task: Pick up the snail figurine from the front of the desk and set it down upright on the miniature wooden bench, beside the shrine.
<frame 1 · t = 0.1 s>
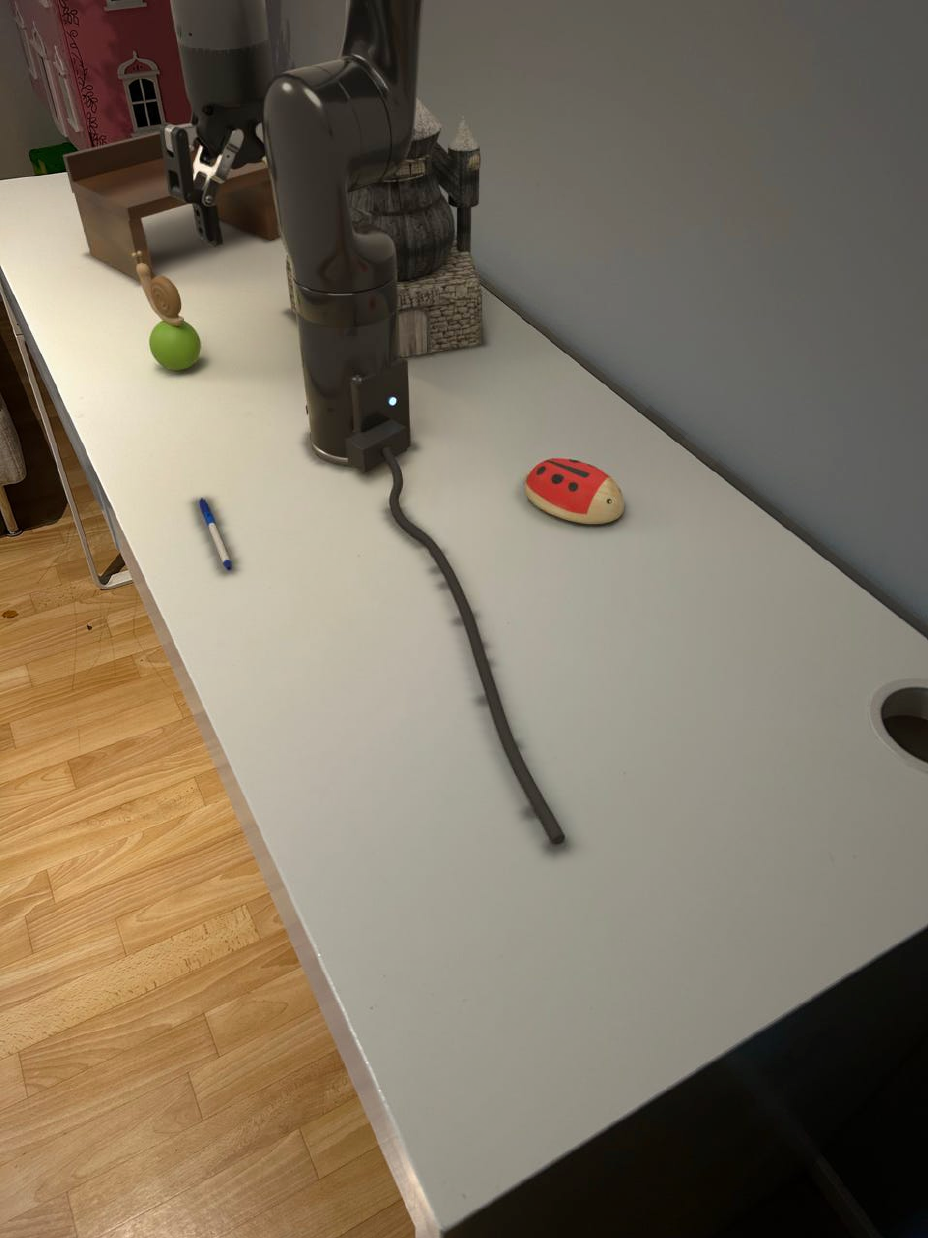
hand: (251, 231, 88), 17 cm above the table, tool pointing down, fingers open, 8 cm apart
ballpoint pen: (216, 538, 83), on the table
miniature wooden bench: (186, 245, 129), on the table
miniature castle: (395, 326, 112), on the table
snail figurine: (177, 367, 105), on the table
ladybug figurine: (572, 505, 86), on the table
shrine: (252, 189, 146), on the table
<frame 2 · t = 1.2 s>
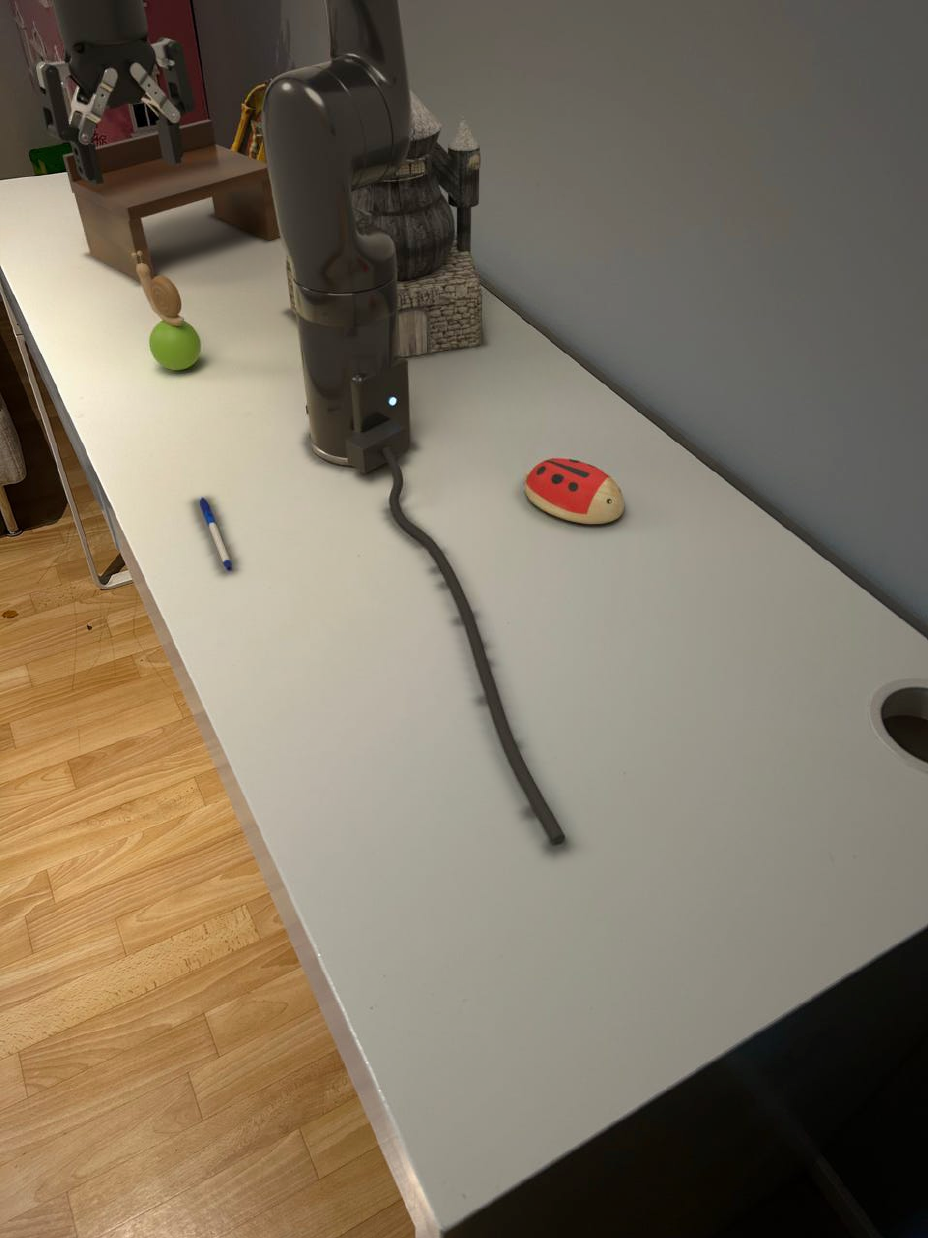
hand: (135, 173, 91), 20 cm above the table, tool pointing down, fingers open, 8 cm apart
nothing on the table moved.
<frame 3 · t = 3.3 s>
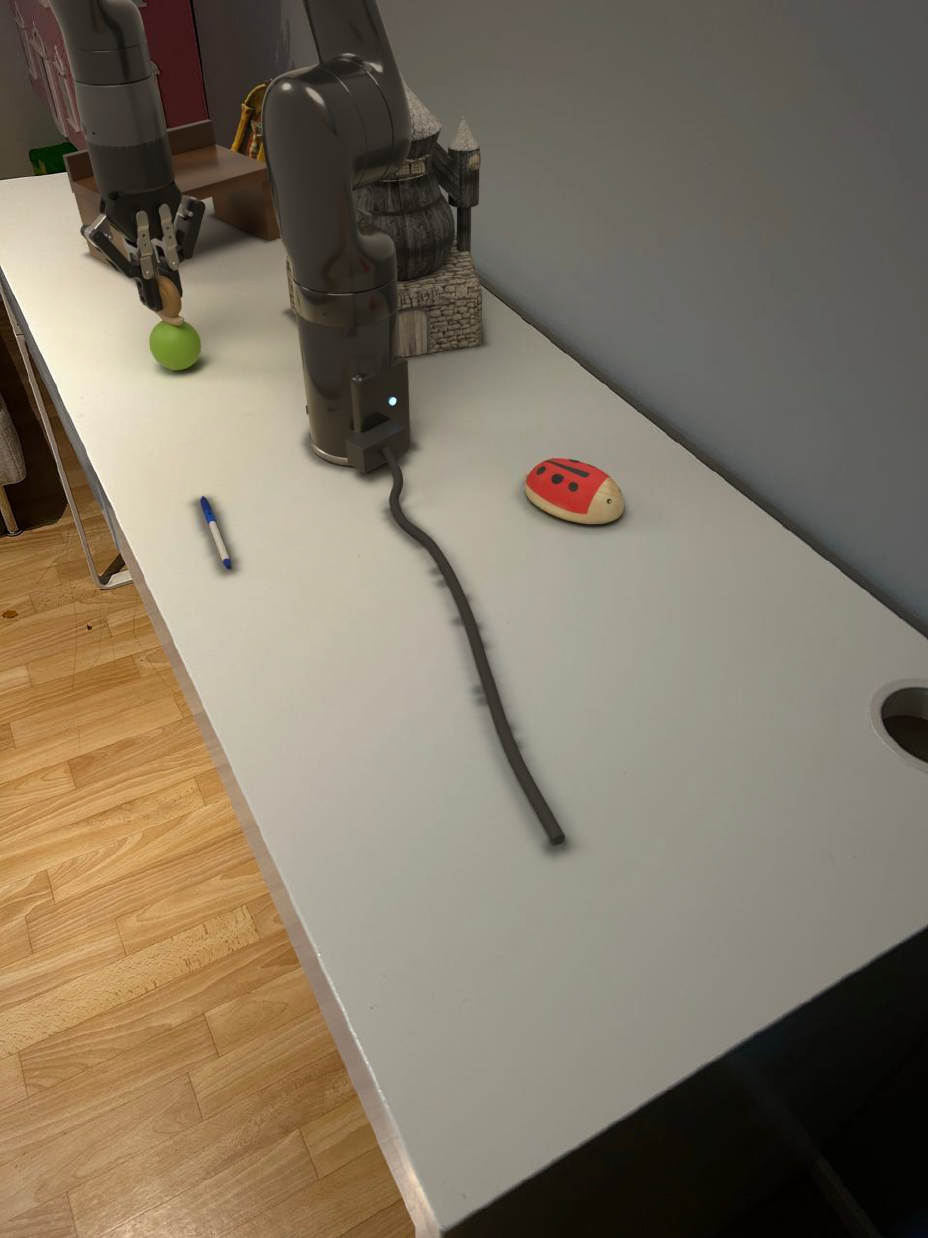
hand: (164, 305, 100), 7 cm above the table, tool pointing down, fingers closed on snail figurine
snail figurine: (177, 367, 105), on the table, touching gripper
everything else where it was.
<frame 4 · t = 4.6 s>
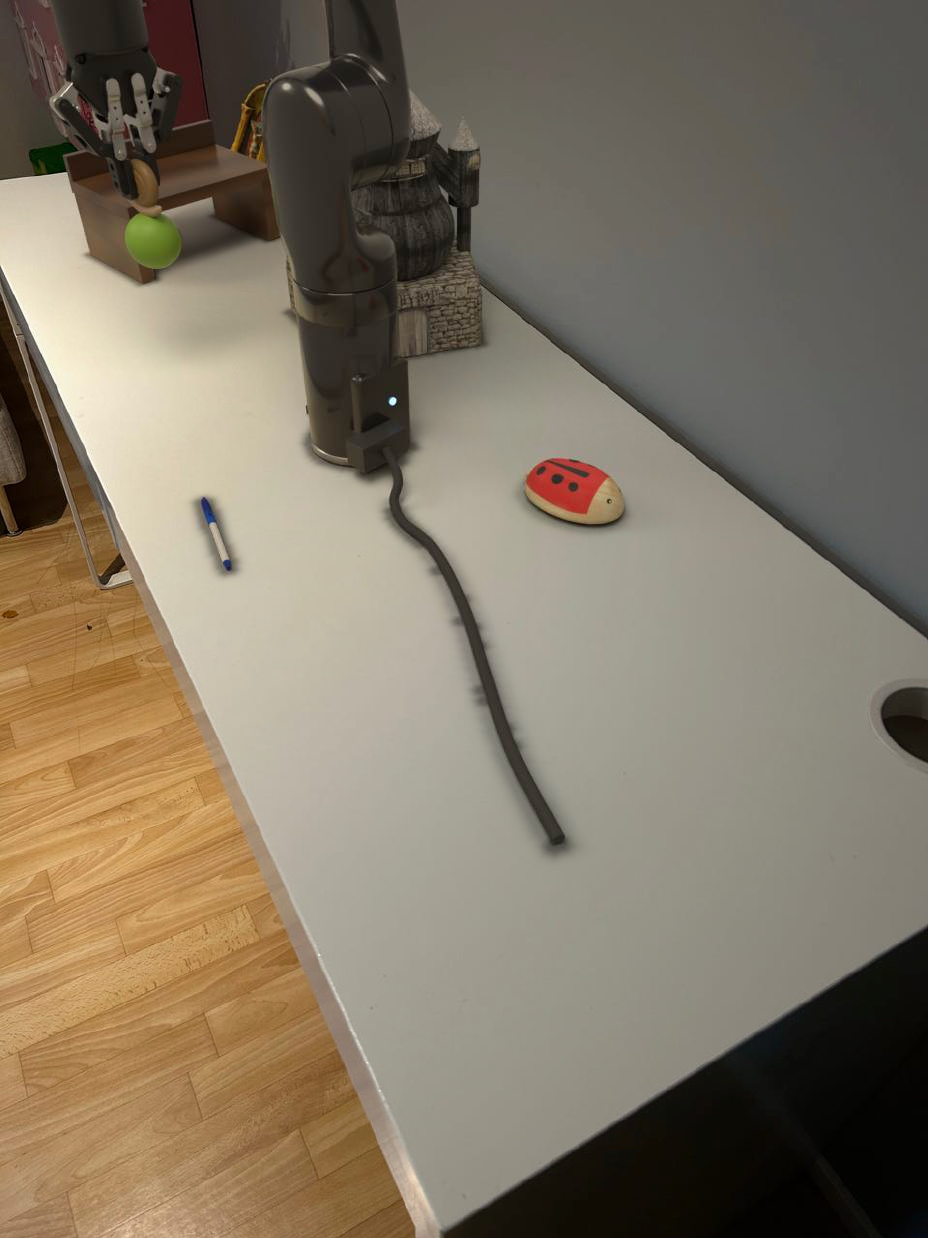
hand: (140, 194, 92), 18 cm above the table, tool pointing down, fingers closed on snail figurine
snail figurine: (156, 267, 97), point 11 cm above the table, touching gripper
everything else where it was.
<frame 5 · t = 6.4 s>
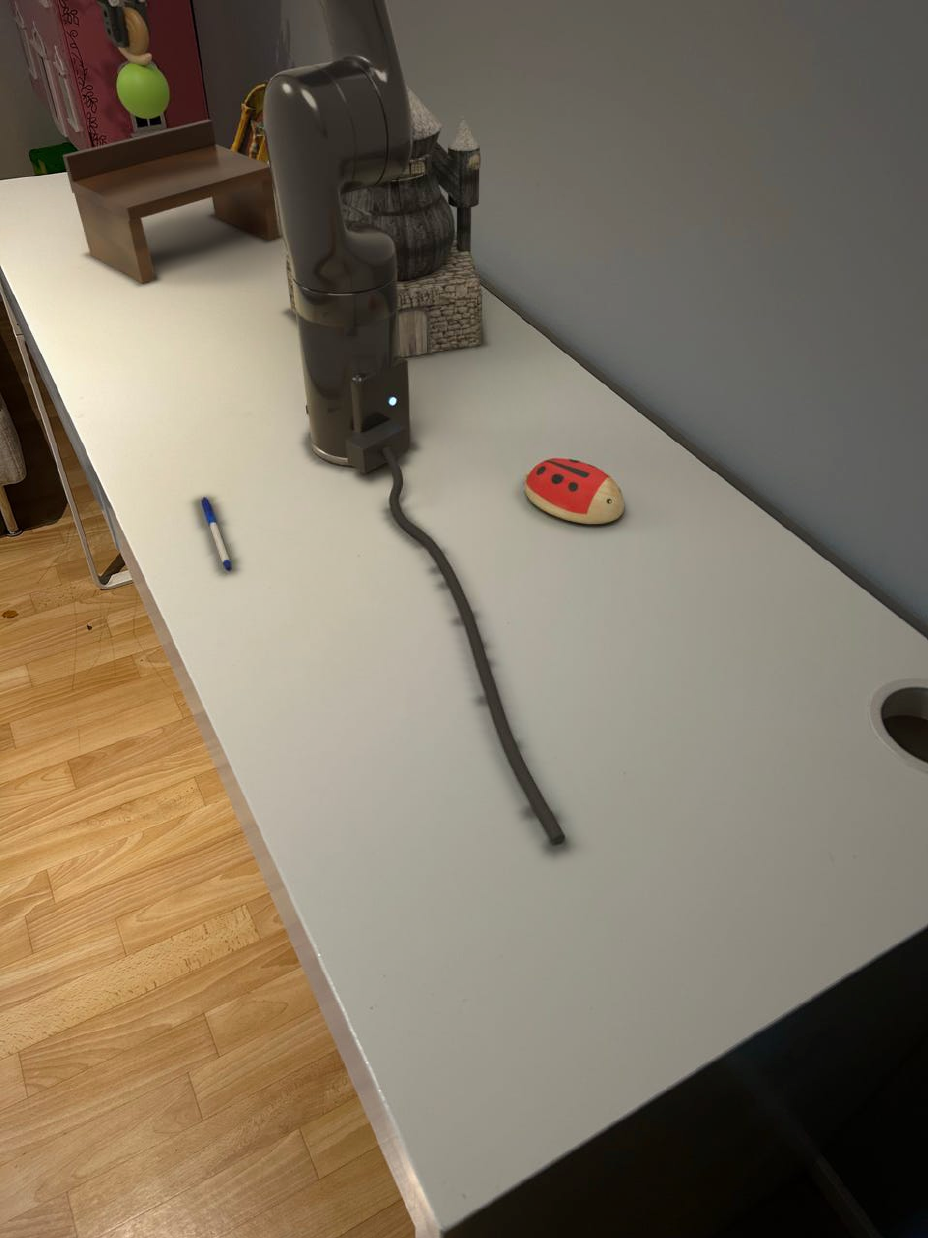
hand: (131, 43, 98), 28 cm above the table, tool pointing down, fingers closed on snail figurine
snail figurine: (146, 118, 103), point 20 cm above the table, touching gripper
everything else where it was.
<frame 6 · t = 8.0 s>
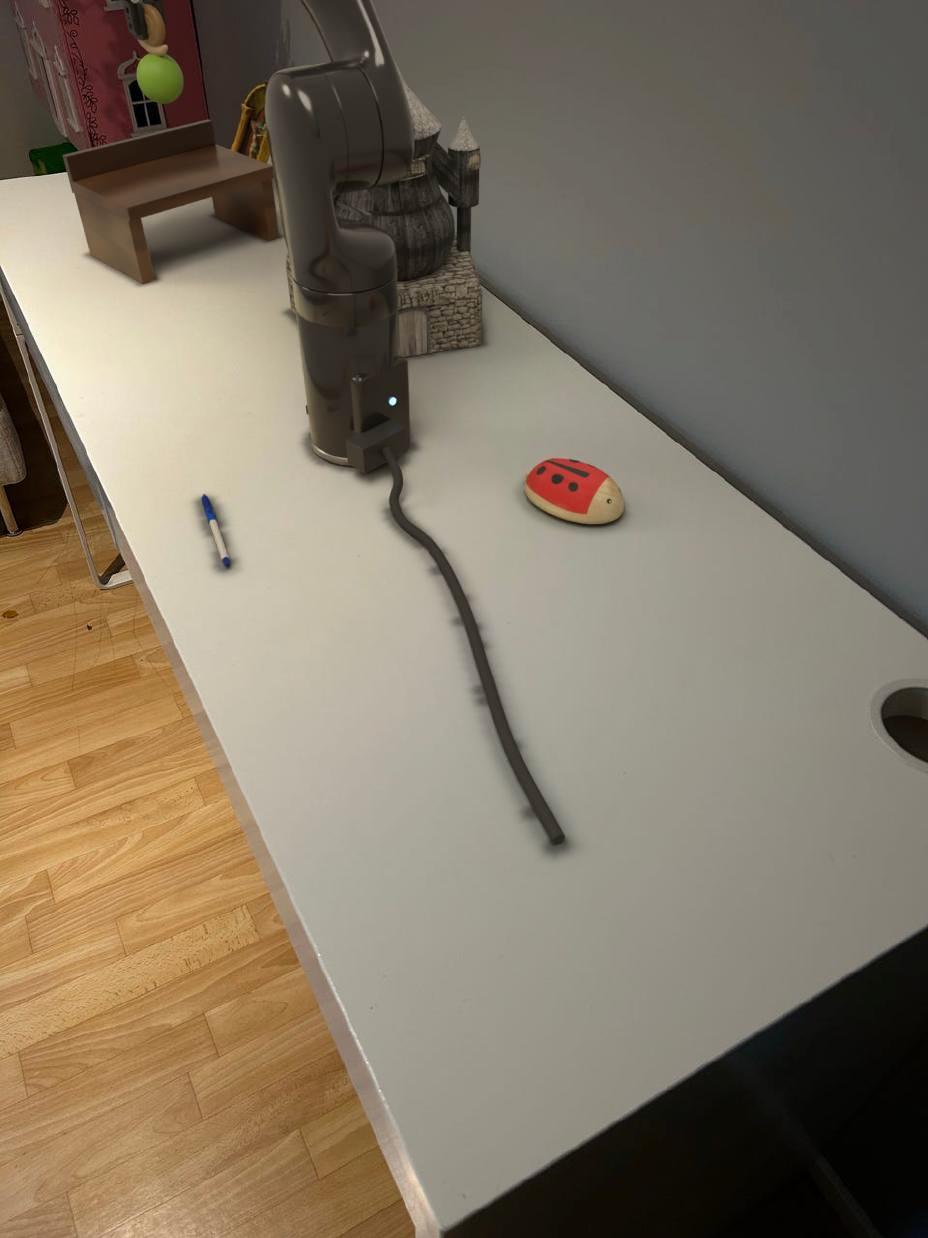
hand: (149, 36, 111), 25 cm above the table, tool pointing down, fingers closed on snail figurine
snail figurine: (162, 103, 116), point 18 cm above the table, touching gripper
everything else where it was.
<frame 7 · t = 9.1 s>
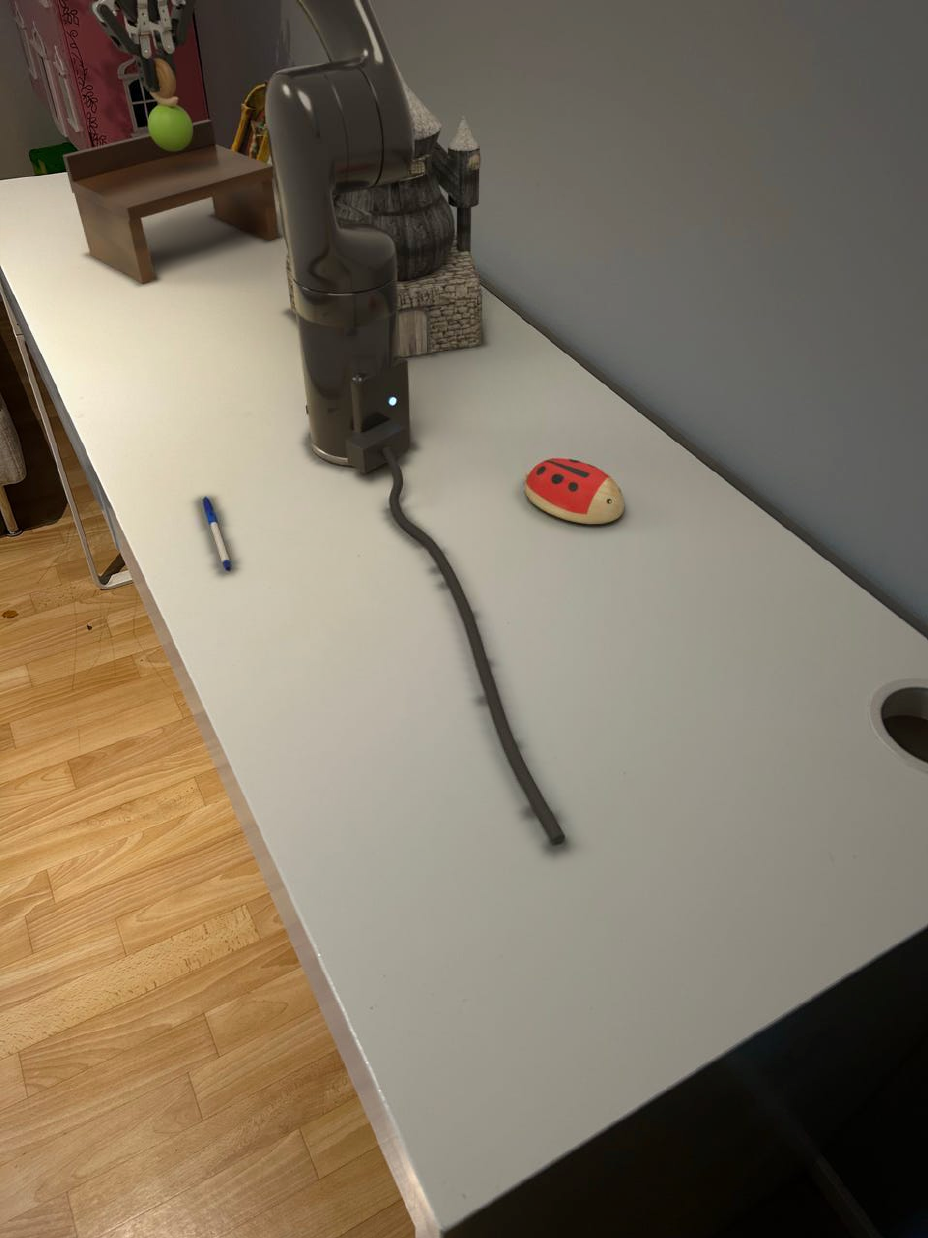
hand: (160, 88, 115), 20 cm above the table, tool pointing down, fingers closed on snail figurine
snail figurine: (172, 151, 120), point 12 cm above the table, touching gripper
everything else where it was.
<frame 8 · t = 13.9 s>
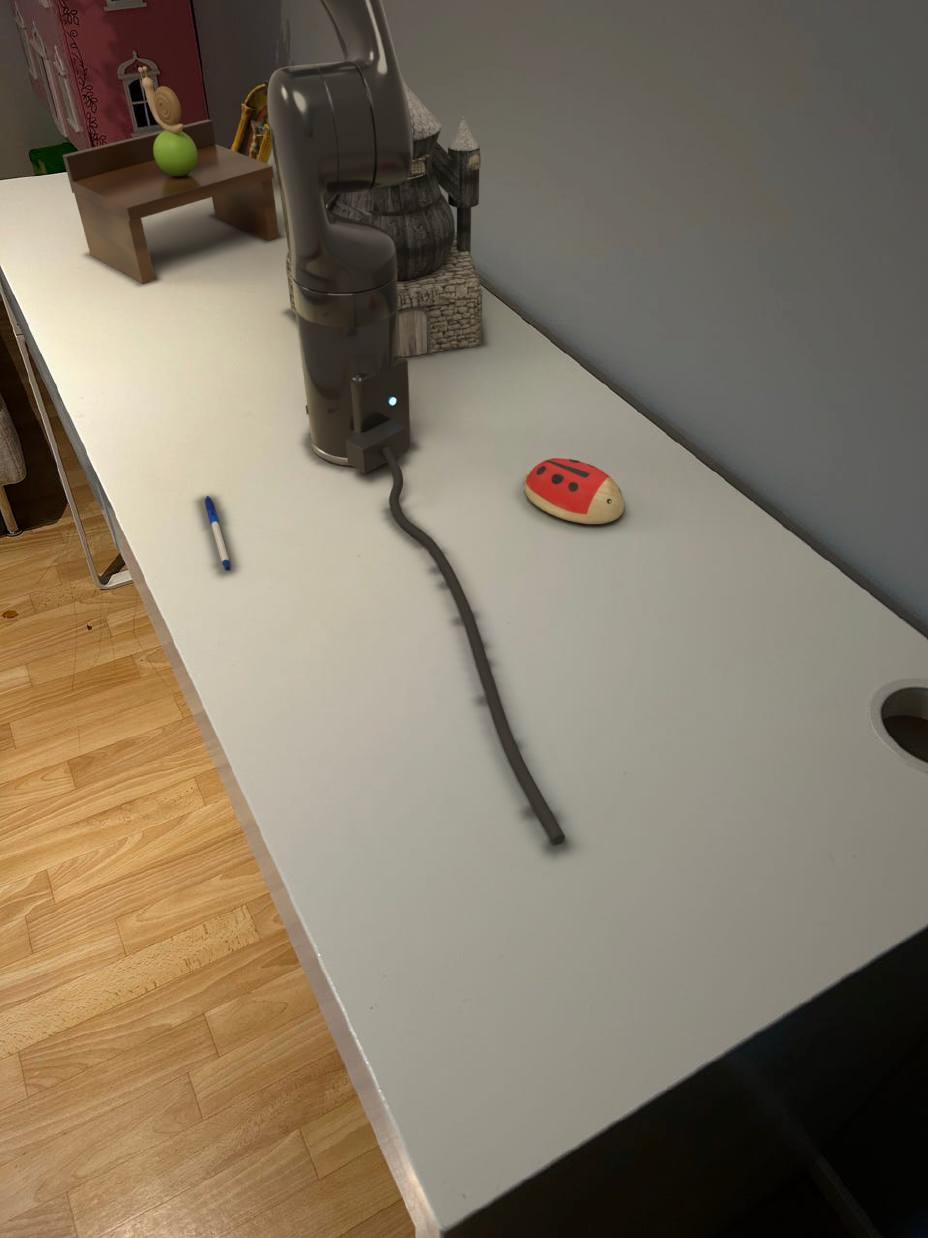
snail figurine: (177, 176, 122), point 9 cm above the table, touching miniature wooden bench
everything else where it was.
at the end: snail figurine inside the target area on the miniature wooden bench (0.9 cm from its centre), point 9.4 cm above the miniature wooden bench's base; snail figurine tilted 0°; the gripper is holding nothing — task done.
